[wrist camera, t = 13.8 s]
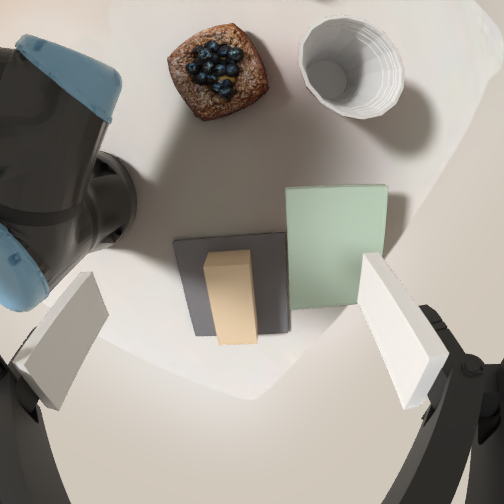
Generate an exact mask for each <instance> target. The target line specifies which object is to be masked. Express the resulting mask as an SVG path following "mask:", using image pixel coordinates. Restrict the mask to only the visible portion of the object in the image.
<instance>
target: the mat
mask: <svg viewBox="0 0 504 504" xmlns="http://www.w3.org/2000/svg"><path fill="white" fill-rule="evenodd" d="M173 244H174V249H175V253H176V258H177V263H178V267H179V271H180V276H181V280H182V284H183V289H184V293H185V297H186V301H187V305H188V309H189V313H190V317H191V321H192V324H193V328H194V332H195V336H217V338H218V343H219V345H235V344H257V334H275V333H288V312H287V277H286V250H285V233H284V232H282V233H267V234H253V235H238V236H225V237H211V238H198V239H186V240H174V241H173Z"/></svg>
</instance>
